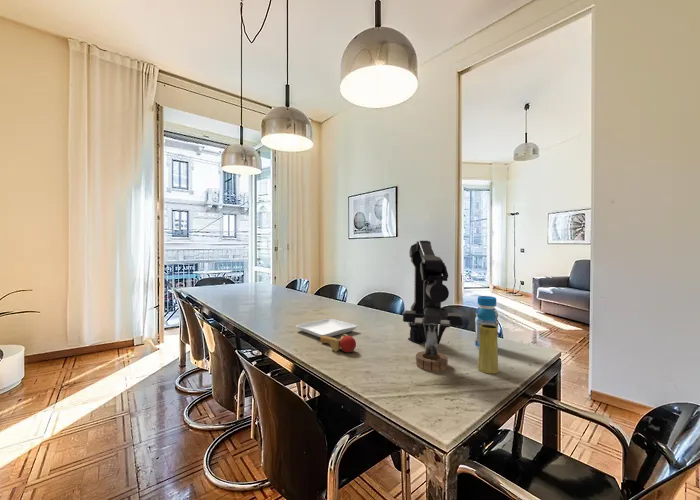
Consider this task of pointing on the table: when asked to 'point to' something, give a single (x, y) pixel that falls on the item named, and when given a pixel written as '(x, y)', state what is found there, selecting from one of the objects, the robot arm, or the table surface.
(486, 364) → the vase
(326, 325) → the salad plate
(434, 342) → the grey metal cylinder
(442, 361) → the bead ring
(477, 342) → the beverage bottle
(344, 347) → the kendama
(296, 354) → the table surface
